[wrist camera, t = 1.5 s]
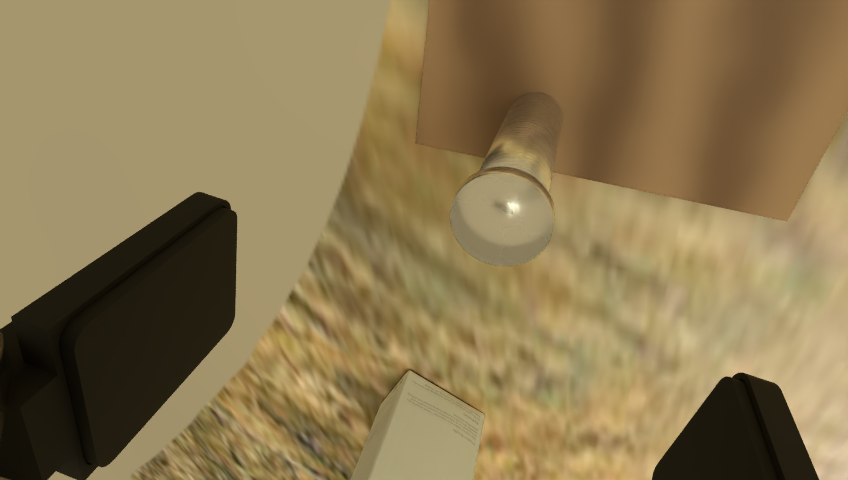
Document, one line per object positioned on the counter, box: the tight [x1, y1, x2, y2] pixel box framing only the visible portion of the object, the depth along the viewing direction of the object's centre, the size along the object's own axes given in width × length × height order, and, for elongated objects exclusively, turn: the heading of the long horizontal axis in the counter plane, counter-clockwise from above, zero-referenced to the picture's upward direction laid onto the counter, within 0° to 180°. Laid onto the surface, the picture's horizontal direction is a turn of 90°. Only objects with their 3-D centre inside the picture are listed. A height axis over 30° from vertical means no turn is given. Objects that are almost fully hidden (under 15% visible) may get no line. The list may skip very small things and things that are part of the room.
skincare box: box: [351, 370, 485, 480], centre depth 42 cm, size 8×6×15 cm
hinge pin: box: [450, 92, 563, 266], centre depth 26 cm, size 4×4×13 cm
